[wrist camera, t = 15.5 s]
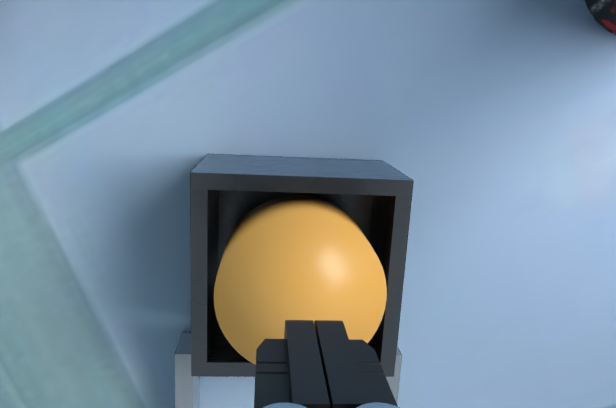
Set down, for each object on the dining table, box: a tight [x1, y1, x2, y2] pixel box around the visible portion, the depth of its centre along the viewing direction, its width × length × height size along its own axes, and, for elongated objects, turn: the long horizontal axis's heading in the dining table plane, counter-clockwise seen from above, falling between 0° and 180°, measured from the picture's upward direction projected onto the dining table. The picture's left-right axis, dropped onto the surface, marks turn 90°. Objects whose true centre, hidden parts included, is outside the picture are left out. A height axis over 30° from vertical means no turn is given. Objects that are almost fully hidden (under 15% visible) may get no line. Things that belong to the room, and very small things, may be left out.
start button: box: [214, 195, 387, 365], centre depth 18 cm, size 6×6×3 cm
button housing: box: [190, 154, 413, 377], centre depth 21 cm, size 8×8×5 cm
